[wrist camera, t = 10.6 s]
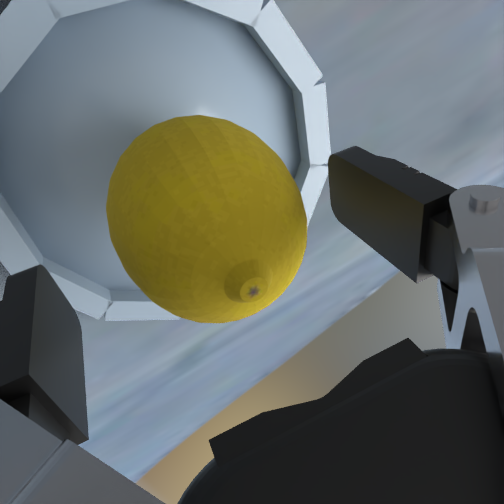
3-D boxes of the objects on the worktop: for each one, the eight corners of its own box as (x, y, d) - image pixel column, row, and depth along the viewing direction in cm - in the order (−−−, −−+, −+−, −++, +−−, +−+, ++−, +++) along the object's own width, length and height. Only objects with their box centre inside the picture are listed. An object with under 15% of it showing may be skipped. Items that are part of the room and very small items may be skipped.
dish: (-147, 21, 10) (-180, 24, 9) (285, -80, 13) (312, -90, 12) (77, 336, 18) (78, 364, 17) (319, 234, 21) (338, 251, 19)
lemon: (102, 77, 12) (139, 154, 6) (257, 108, 15) (397, 185, 9) (93, 231, 15) (114, 398, 9) (227, 236, 17) (319, 368, 11)
